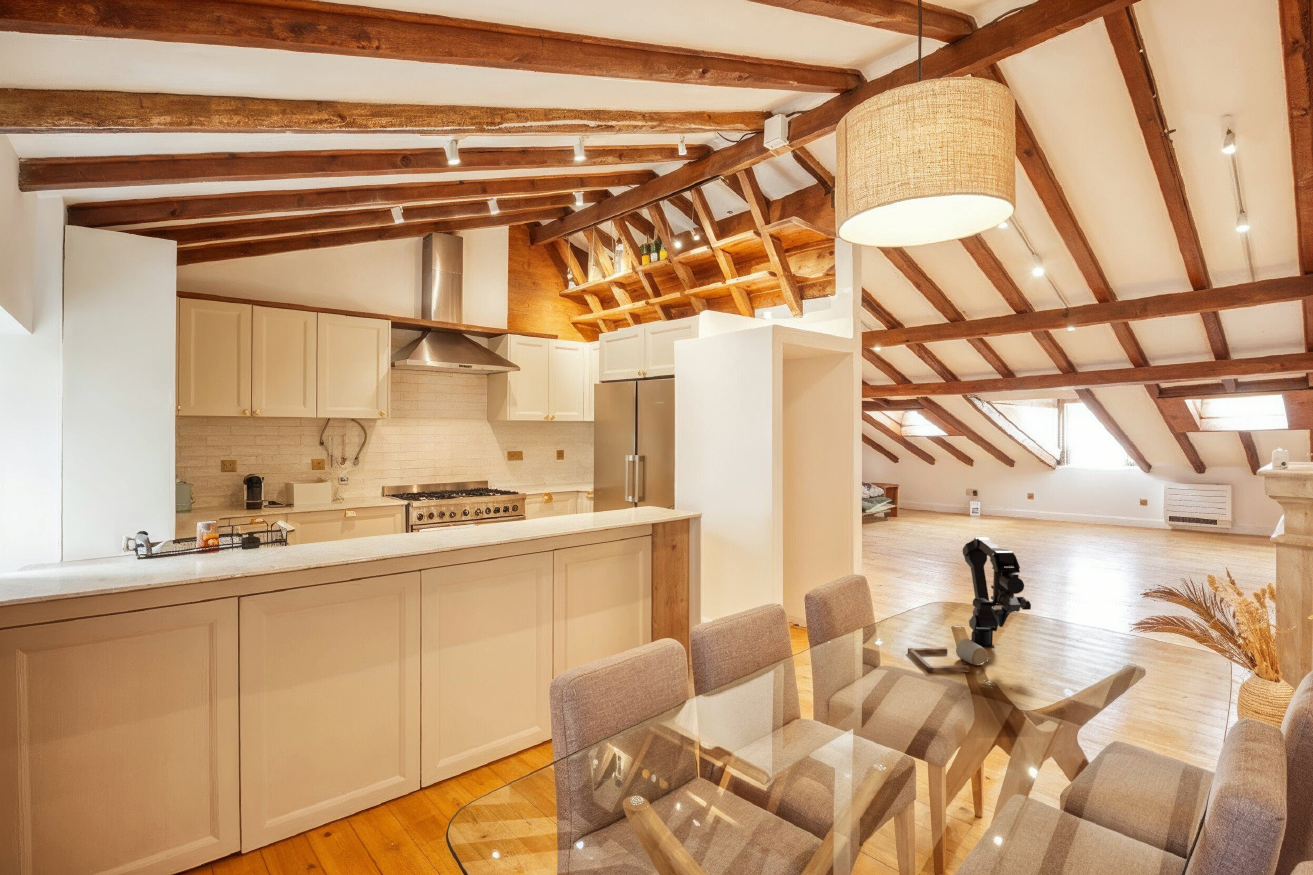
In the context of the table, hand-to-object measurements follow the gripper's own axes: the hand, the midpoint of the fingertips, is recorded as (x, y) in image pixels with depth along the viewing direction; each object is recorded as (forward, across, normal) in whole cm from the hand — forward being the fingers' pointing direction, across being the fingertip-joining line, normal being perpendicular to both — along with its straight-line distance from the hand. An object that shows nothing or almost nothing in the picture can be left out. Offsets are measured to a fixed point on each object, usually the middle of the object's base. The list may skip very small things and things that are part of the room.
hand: (1000, 626), depth 231 cm
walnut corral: (+13, -23, 0) cm, 26 cm away
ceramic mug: (+13, -10, 0) cm, 16 cm away
